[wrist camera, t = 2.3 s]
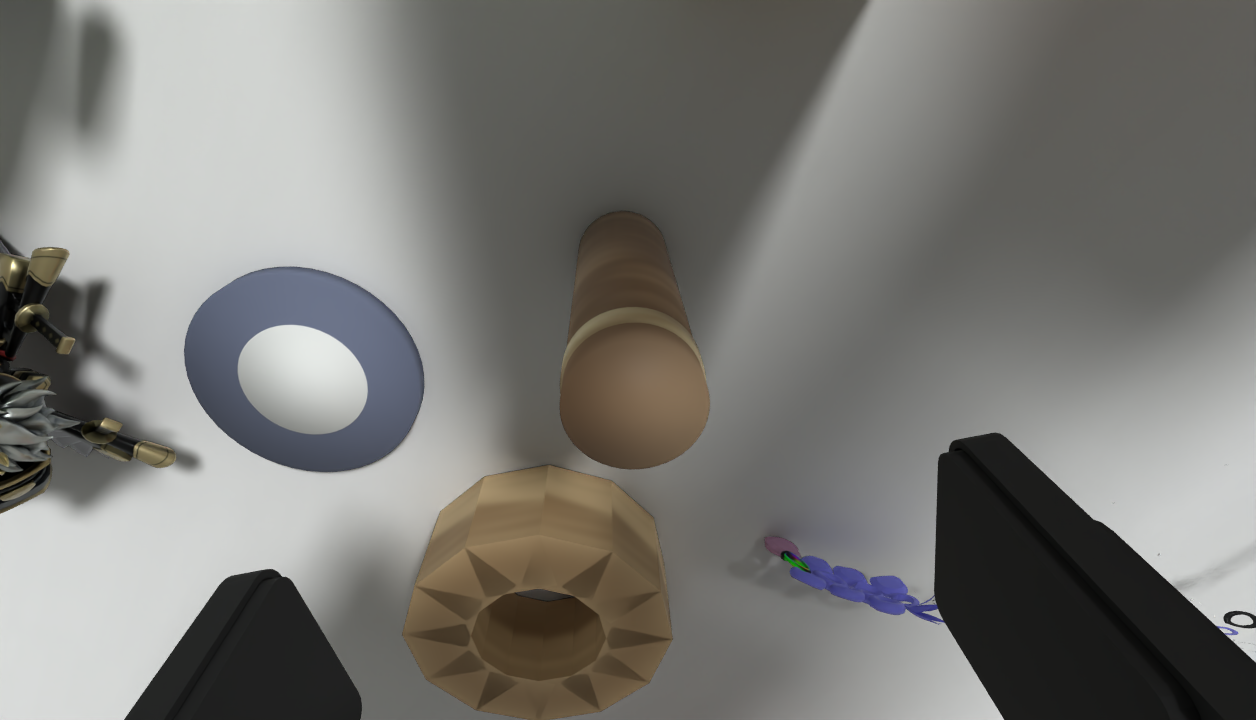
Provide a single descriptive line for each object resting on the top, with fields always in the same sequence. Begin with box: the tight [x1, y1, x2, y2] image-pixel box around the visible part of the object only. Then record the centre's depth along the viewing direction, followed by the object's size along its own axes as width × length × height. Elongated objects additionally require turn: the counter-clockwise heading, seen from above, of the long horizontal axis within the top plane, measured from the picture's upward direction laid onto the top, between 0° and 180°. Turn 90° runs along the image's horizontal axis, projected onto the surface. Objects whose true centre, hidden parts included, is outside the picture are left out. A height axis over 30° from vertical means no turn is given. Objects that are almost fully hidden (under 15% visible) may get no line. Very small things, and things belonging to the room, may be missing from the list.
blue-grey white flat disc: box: [184, 267, 424, 472], centre depth 23 cm, size 8×8×1 cm
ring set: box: [765, 464, 1256, 652], centre depth 24 cm, size 25×12×12 cm, turn 88°
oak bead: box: [402, 465, 673, 720], centre depth 26 cm, size 10×10×4 cm
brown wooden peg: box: [560, 211, 710, 469], centre depth 17 cm, size 3×3×10 cm
